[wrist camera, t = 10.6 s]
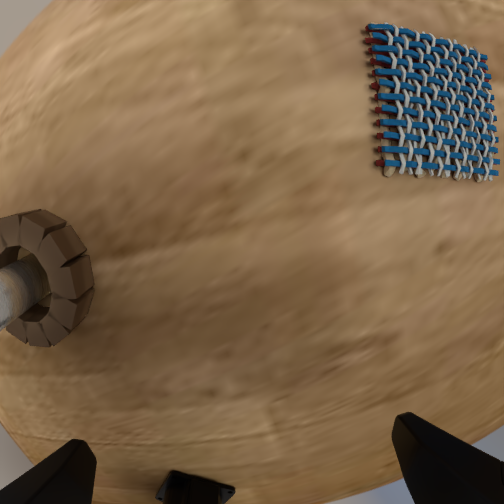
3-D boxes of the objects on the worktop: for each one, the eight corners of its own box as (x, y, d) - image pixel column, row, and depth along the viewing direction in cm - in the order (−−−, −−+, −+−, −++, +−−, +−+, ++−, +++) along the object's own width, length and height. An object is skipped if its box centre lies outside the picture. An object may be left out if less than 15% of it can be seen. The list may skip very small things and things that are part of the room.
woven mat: (488, 183, 18) (505, 185, 16) (371, 176, 18) (385, 177, 16) (475, 55, 16) (491, 49, 14) (357, 24, 15) (368, 11, 13)
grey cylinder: (54, 300, 18) (-14, 357, 11) (23, 281, 18) (-48, 327, 10) (62, 263, 18) (-14, 311, 10) (30, 244, 17) (-49, 281, 10)
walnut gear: (79, 349, 19) (64, 368, 17) (-5, 295, 18) (-24, 307, 16) (108, 243, 18) (90, 254, 15) (13, 191, 16) (-11, 195, 14)
